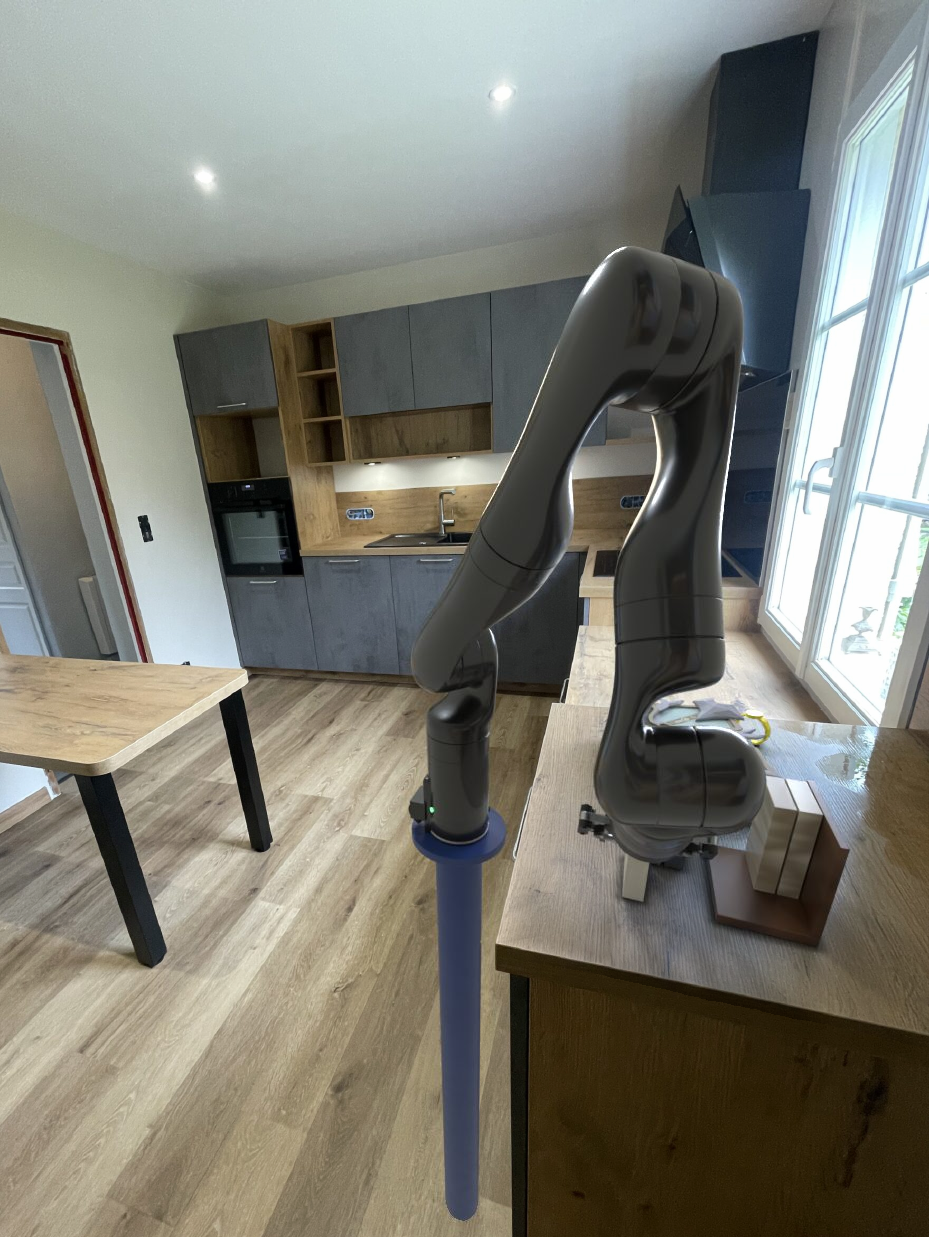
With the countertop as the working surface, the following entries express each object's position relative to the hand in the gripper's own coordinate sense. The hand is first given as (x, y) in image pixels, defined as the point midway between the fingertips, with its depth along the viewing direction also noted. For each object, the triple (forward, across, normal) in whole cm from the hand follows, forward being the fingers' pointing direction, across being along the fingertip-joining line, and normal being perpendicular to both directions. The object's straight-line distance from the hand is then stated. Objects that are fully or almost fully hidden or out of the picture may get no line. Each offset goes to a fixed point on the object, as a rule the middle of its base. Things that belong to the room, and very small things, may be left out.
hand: (639, 840), depth 65 cm
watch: (+37, -19, -27) cm, 50 cm away
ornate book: (+26, -8, -16) cm, 32 cm away
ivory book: (+5, 0, +4) cm, 7 cm away
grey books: (+10, -4, -1) cm, 11 cm away
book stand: (+7, -14, +2) cm, 16 cm away
